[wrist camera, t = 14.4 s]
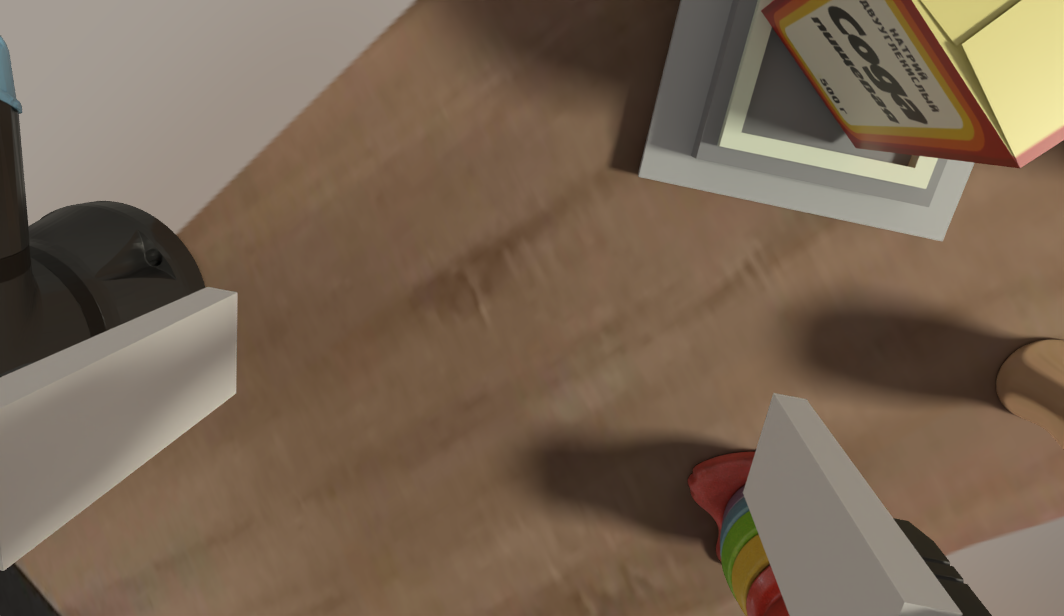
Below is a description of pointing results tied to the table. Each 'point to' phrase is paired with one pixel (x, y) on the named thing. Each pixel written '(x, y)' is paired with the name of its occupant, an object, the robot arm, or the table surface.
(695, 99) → the plinth
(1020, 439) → the table surface
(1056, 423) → the beer glass
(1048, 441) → the table surface
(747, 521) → the stacking bear
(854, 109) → the baking soda box
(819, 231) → the table surface
